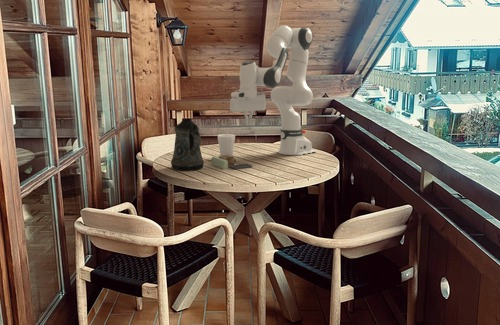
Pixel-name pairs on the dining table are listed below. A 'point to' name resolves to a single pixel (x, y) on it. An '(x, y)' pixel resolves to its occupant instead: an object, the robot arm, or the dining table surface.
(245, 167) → the trap pair
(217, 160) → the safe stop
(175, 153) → the beer stein
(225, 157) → the walnut block
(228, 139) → the foam cup
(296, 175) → the dining table surface
